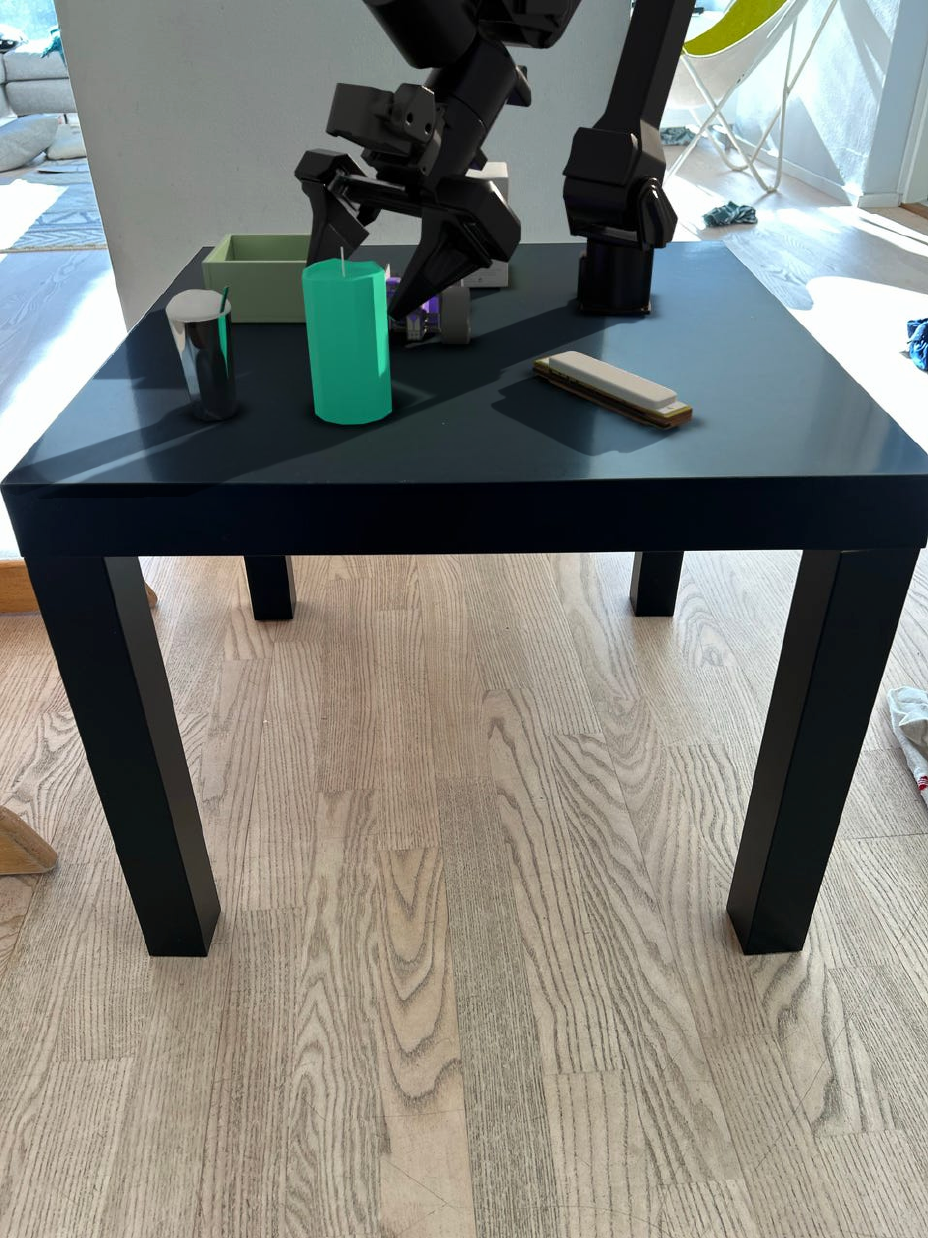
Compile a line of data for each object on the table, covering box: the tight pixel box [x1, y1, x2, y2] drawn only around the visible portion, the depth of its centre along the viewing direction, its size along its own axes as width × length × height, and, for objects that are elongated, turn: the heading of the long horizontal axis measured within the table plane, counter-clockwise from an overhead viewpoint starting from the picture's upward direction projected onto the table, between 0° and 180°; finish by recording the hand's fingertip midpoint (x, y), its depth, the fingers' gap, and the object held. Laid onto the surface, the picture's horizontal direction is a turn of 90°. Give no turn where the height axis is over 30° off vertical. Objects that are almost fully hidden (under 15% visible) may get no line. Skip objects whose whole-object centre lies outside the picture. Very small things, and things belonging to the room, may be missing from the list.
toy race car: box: [384, 262, 471, 345], centre depth 91 cm, size 10×15×6 cm, turn 178°
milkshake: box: [165, 286, 238, 422], centre depth 73 cm, size 4×5×10 cm
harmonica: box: [531, 350, 694, 431], centre depth 77 cm, size 15×3×2 cm, turn 37°
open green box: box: [201, 233, 311, 324], centre depth 96 cm, size 10×10×6 cm
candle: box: [302, 247, 393, 425], centre depth 73 cm, size 6×6×12 cm
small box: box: [463, 161, 510, 288], centre depth 101 cm, size 8×6×10 cm
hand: (348, 304), depth 72 cm, fingers open, 9 cm apart
